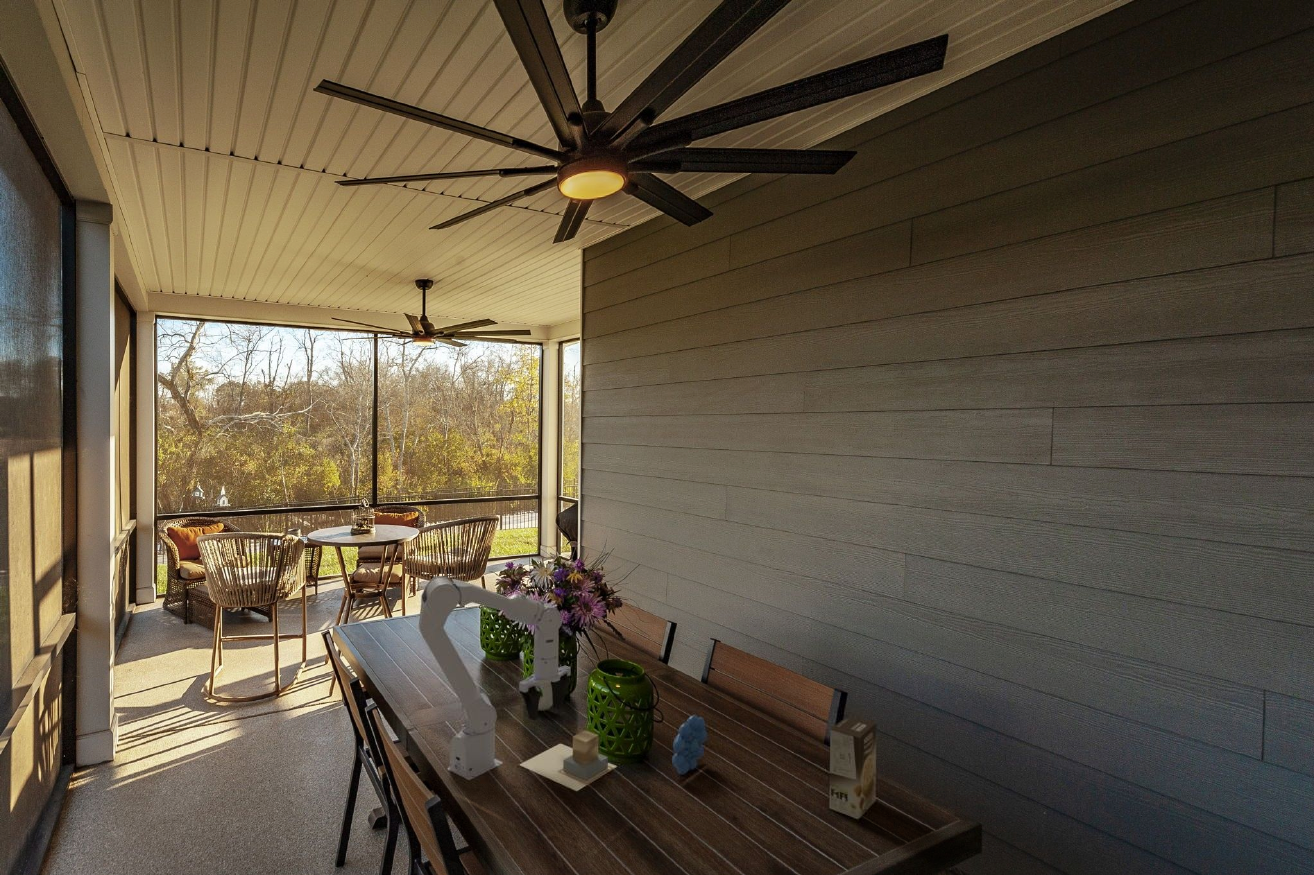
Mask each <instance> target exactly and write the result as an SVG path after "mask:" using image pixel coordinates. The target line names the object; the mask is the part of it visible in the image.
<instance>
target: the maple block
mask: <svg viewBox="0 0 1314 875" xmlns="http://www.w3.org/2000/svg"><path fill="white" fill-rule="evenodd" d="M572 748H573V760H575V761H578V762H580V763H583V764H585V765H586V764H588V763H590V762H591V761H593V760H595V759H597V758H598V754H599V734H596V733H593V732H591V731H588V730H583V731H581V732H580V733H577V734H575V735H573V736H572Z"/></svg>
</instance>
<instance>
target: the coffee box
mask: <svg viewBox="0 0 1314 875" xmlns="http://www.w3.org/2000/svg"><path fill="white" fill-rule="evenodd" d="M829 730H830V736H829V738H830V742H829V745H830V746H829V747H830V748H829V809H830V810H833V811H835V812H838V813H841V814H843V815H846V816H849V817H851V818H853V819H856V820H859V819H860V818H861V817H862V816H863V815H864V814H865V813H866V812H867V811H868V810H869V809H870V808H871V806H872V805H873V804H874V803H875V802H876V797H877V796H876V794H877V793H876V790H877V788H876V784H877V783H876V780H877V779H876V778H877V776H876V774H877V768H876V767H877V723H875V722H872V721H869V720H867V719H862V718H858V717H853V716H849V715H847V716H846V717H845V718H843V719H842V720H840V721H838V723H836V724H835V725H833V726H832V727H830V728H829Z"/></svg>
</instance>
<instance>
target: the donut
mask: <svg viewBox="0 0 1314 875" xmlns="http://www.w3.org/2000/svg"><path fill="white" fill-rule="evenodd" d="M539 688H540V690H541V692H542V695H541V696H540V700H539V705H538V711H541V712H542V711H543V712H544V711H547V710H549V709H550V708H551V707H553V701H552V687H551V682H547V683H545V684H542V685H540V686H537V687H536V689H537V691H539Z"/></svg>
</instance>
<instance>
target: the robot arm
mask: <svg viewBox="0 0 1314 875" xmlns="http://www.w3.org/2000/svg"><path fill="white" fill-rule="evenodd" d="M420 598H421V599H420V611H419V617H418V618H419V620H418V629H419V632H420V634H421V636H422V638H423V639H424V641H425V643H426V645H427V646H428V648H429V649H430V650H429V651H431V653H432V655H433V657H434V659H435V661H436V662H437V663H438V665H439V667H440V669H441V671H442V672H443V674H444V676H445V678H446V679H447V681H448V683H449V684H450V686H451V687H452V690H453V691H454V693H455V695H456V696H457V698H458V700H459V702H460V703H461V711H462V714H463V715H464V717H465V719H464V722H463V723H462V725H461V730H460V731H459V732H458V733H457V734H456V735H454V736H453V737H452V738H451V739H450V743H449V767H447V771H450V772H452V773H455V774H456V775H458V776H460V777H461V778H464V779H466V780H469V781H470V780H472V779H475V778H476V777H478V776H480V775H482V774H485V773H486V772H488V771H490V770H491V769H492V770H493V769H495V768H496V767H498V766H500V765H502V764H504V763H503V761H501V760H499V759H497V758H495V756H496V755H495V754H496V753H495V752H496V751H495V749H496V746H495V745H496V744H495V742H496V740H495V739H496V738H495V736H496V721H497V718H498V715H497V710H496V709H495V707H494V706H493V705H492V703H491V701H490V698H489V696H488V694H487V693H486V692H484V691H482V690H480V689H479V687H478V685H477V684H476V682H475V681H474V679H473V677H472V675H471V674H470V672H469V671H468V668H467V667H466V665H465V663H464V661H463V659H462V658H461V656H460V654H459V653H458V651H457V649H456V647H455V646H454V644H453V641H452V640H451V638H450V637H449V635H448V633H447V632H446V630H445V629H444V627H445V625H446V623H447V620H448V617H449V616H450V615H451V613H453V611H454V610H455V609H456V607H457V606H458V605H459V607H460V608H463V607H465V606H467V605H469V604H472V603H473V604H477V605H480V606H483V607H488V608H492V609H494V610H499V611H503V613H504V616H505V618H506V619H508V620H512V621H514V622H517V623H521V624H525V625H527V626H530V627H531V626H534V639H533V640H534V641H533V643H534V644H533V648H534V649H533V674H531V675H530V676H528V677H526V678H525V679H524V680H522V681H520V682H519V690H518V691H519V693H520V695H521V697H522V699H523V701H524V704H525V706H526V707H525V708H526V710H527V715H528V718H529V719H531V720H532V721H537V720H538V716H539V710H538V705H539V700H540V696H541V697H542V695H543V693H542V691H539V690H538V691H537V689H536V687H537V686H538V687H539V686H540V685H542V684H545V683H547V682H551V687H552V701H553V704H552V708H553V709H556V710H561V709H562V706H563V702H564V699H565V694H566V692H567V690H568V688H569V686H570V685H571V683H572V678H571V677H570V676H571V675H572V674H571V666H567V665H563V666H560V667H559V644H560V643H559V641H560V640H559V629H560V628H561V626H562V624H563V622H564V621H563V618H562V615H561V612H560V611H559V609H557V608H556V607H554V606H553V605H552V604H551V603H548V602H547V601H544V600H542V599H539V600H536V599H532V598H529V597H527V594H525V593H523V592H520V593H519V594H517V593H514V594H511V595H510V596H505V595H502V594H500V593H498V592H495V591H492V590H490V589H488V588H487V589H486V588H483V587H480V586H479V585H475V584H474V583H470V582H466V581H463V580H459V579H455V578H452V579H450V578H448V577H446V576H436V577H433V578H431V579H430V580H429V581H427V583H426V585H425V588H424V589H423V591H422V594H421V596H420Z"/></svg>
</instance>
